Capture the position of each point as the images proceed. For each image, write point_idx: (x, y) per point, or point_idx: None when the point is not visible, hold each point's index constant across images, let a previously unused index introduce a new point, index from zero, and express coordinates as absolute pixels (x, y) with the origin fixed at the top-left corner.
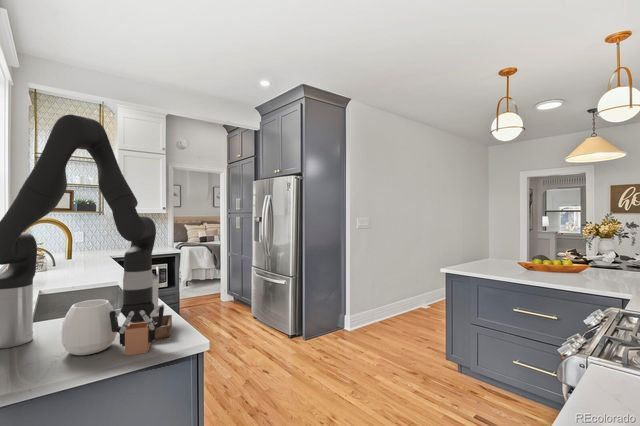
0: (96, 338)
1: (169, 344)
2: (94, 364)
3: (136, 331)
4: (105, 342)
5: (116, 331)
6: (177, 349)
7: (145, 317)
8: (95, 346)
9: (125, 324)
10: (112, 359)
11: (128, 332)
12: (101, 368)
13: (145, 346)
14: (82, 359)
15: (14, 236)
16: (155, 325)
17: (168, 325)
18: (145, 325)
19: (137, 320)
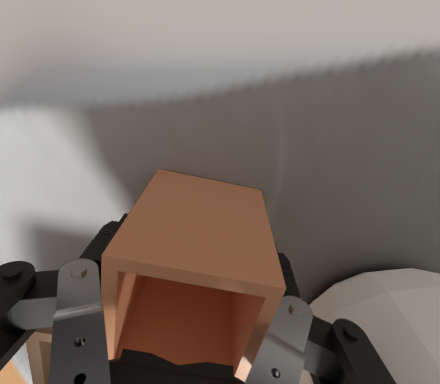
0: (425, 314)
1: (58, 212)
2: (400, 157)
3: (197, 255)
4: (350, 296)
5: (326, 325)
6: (4, 122)
7: (82, 379)
8: (398, 280)
9: (284, 350)
10: (318, 173)
11: (256, 266)
12: (389, 81)
13: (160, 184)
14: (422, 243)
15: None
16: (48, 288)
17: (31, 337)
18: (137, 343)
19: (176, 370)
